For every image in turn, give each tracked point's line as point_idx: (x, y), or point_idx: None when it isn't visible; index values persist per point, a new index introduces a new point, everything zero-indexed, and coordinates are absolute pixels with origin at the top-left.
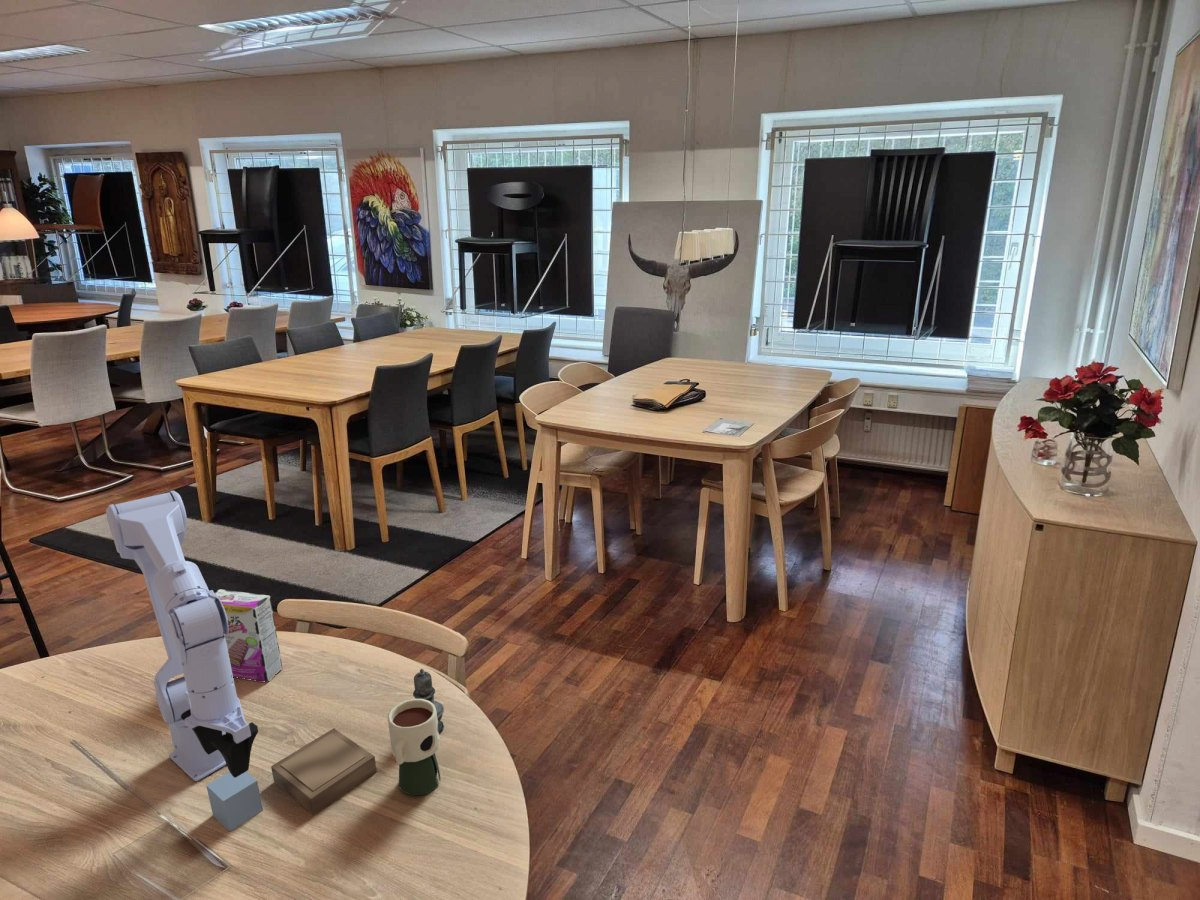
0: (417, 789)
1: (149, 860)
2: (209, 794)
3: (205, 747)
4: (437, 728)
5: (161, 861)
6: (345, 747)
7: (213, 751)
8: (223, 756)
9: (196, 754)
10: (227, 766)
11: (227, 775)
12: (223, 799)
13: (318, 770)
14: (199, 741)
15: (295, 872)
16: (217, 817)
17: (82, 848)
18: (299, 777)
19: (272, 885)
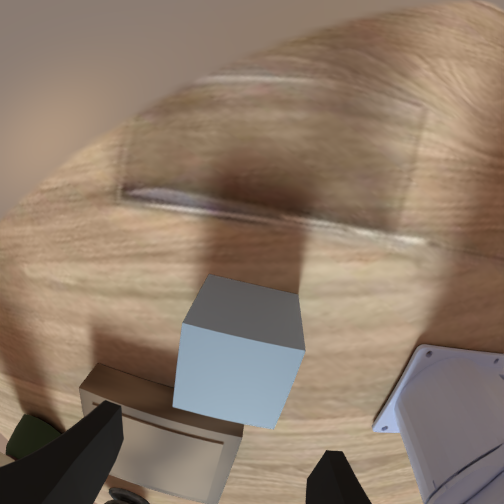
0: (21, 420)
1: (322, 121)
2: (293, 331)
3: (332, 479)
4: (115, 499)
5: (289, 131)
6: (151, 482)
7: (318, 463)
8: (48, 478)
9: (446, 396)
10: (91, 437)
11: (274, 398)
12: (189, 328)
13: (135, 444)
14: (364, 496)
15: (19, 249)
16: (269, 292)
17: (490, 103)
18: (148, 427)
19: (24, 210)
